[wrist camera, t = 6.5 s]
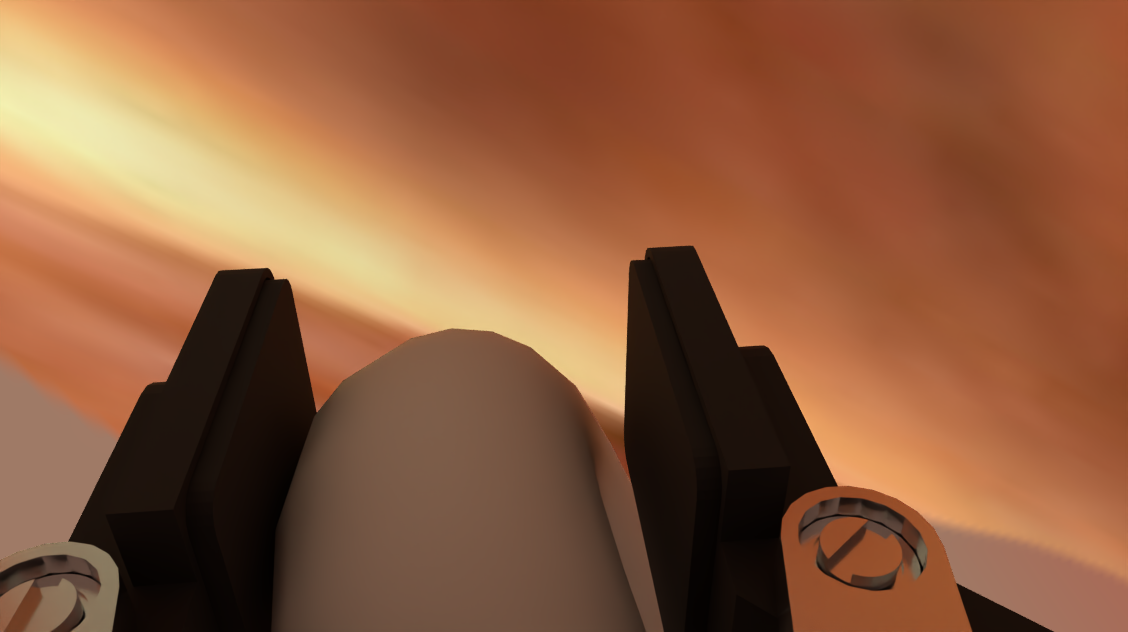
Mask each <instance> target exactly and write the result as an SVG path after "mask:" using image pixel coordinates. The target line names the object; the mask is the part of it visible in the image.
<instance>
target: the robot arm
mask: <svg viewBox="0 0 1128 632" xmlns="http://www.w3.org/2000/svg"><path fill="white" fill-rule="evenodd" d="M316 414H317V412H316V407H315V402H314V397H313V392H312V387H311V382H310V377H309V372H308V367H307V362H306V357H305V352H304V347H303V343H302V338H301V333H300V328H299V323H298V318H297V313H296V308H295V303H294V298H293V293H292V289H291V285H290V283H289V281H288V280H287V279H279V280H274V277H273V274H272V272H271V270H270V269H269V268H259V269H241V270H222V271H218V273H217V274H216V276H215V278H214V280H213V282H212V284H211V287H210V289H209V291H208V293H207V295H206V297H205V299H204V302H203V304H202V306H201V308H200V310H199V312H198V315H197V317H196V319H195V321H194V323H193V325H192V328H191V330H190V332H189V334H188V336H187V338H186V340H185V343H184V345H183V347H182V349H181V351H180V353H179V356H178V358H177V360H176V362H175V364H174V366H173V369H172V371H171V373H170V375H169V377H168V379H167V381H166V382H155V383H152V384H149V385H147V386H146V388H145V389H144V391H143V392H142V393H141V395H140V397H139V399H138V401H137V403H136V405H135V407H134V409H133V411H132V413H131V415H130V417H129V420H128V422H127V424H126V426H125V428H124V430H123V432H122V434H121V436H120V438H119V440H118V442H117V444H116V446H115V448H114V450H113V452H112V454H111V456H110V458H109V460H108V462H107V464H106V466H105V468H104V470H103V472H102V474H101V476H100V478H99V481H98V482H97V484H96V486H95V488H94V491H93V493H92V495H91V497H90V499H89V501H88V503H87V505H86V507H85V509H84V511H83V513H82V515H81V517H80V519H79V521H78V523H77V525H76V527H75V529H74V531H73V533H72V535H71V537H70V539H69V541H68V542H61V543H50V544H43V545H40V546H36V547H33V548H29V549H26V550H23V551H19V552H16V553H14V554H12V555H10V556H8V557H6V558H4V559H2V560H0V632H271V623H272V600H273V576H274V552H275V529H276V526H277V523H278V520H279V517H280V514H281V511H282V508H283V506H284V503H285V500H286V497H287V494H288V491H289V488H290V485H291V482H292V479H293V476H294V473H295V470H296V467H297V464H298V461H299V458H300V455H301V452H302V450H303V447H304V444H305V441H306V438H307V436H308V433H309V430H310V427H311V424H312V422H313V419H314V416H315V415H316ZM624 443H625V453H626V460H627V465H628V469H629V474H630V479H631V483H632V488H633V492H634V497H635V502H636V506H637V511H638V515H639V520H640V525H641V529H642V534H643V538H644V543H645V547H646V552H647V557H648V561H649V566H650V570H651V575H652V580H653V584H654V589H655V593H656V598H657V603H658V607H659V612H660V616H661V621H662V626H663V630H664V632H1053V631H1051V630H1049V629H1047V628H1045V627H1043V626H1041V625H1039V624H1037V623H1035V622H1033V621H1031V620H1029V619H1027V618H1025V617H1023V616H1021V615H1019V614H1017V613H1015V612H1013V611H1011V610H1009V609H1007V608H1005V607H1003V606H1001V605H999V604H997V603H995V602H993V601H991V600H989V599H987V598H985V597H983V596H981V595H979V594H977V593H975V592H973V591H971V590H969V589H967V588H965V587H963V586H961V585H959V584H957V583H956V581H955V579H954V575H953V572H952V569H951V567H950V563H949V560H948V557H947V555H946V551H945V548H944V546H943V544H942V542H941V540H940V539H939V537H938V535H937V533H936V531H935V529H934V528H933V527H932V526H931V525H930V524H929V523H928V522H927V521H926V520H925V519H924V518H923V517H922V516H921V515H920V514H919V513H918V512H917V511H915V510H914V509H912V508H911V507H909V506H907V505H906V504H904V503H903V502H901V501H899V500H898V499H896V498H893V497H891V496H888V495H885V494H883V493H880V492H877V491H874V490H870V489H864V488H858V487H852V486H839V487H838V485H837V483H836V481H835V479H834V477H833V475H832V473H831V471H830V469H829V467H828V465H827V463H826V461H825V459H824V457H823V455H822V453H821V451H820V449H819V447H818V445H817V443H816V441H815V439H814V437H813V435H812V433H811V430H810V428H809V426H808V424H807V422H806V420H805V418H804V416H803V414H802V412H801V410H800V408H799V406H798V404H797V402H796V400H795V398H794V396H793V394H792V392H791V390H790V388H789V386H788V384H787V382H786V380H785V378H784V375H783V373H782V371H781V369H780V367H779V365H778V363H777V361H776V359H775V357H774V355H773V354H772V352H771V351H770V349H769V348H768V347H766V346H747V347H738V345H737V343H736V341H735V338H734V336H733V334H732V331H731V329H730V327H729V325H728V322H727V320H726V318H725V316H724V313H723V311H722V309H721V306H720V304H719V302H718V300H717V297H716V295H715V293H714V291H713V288H712V286H711V284H710V281H709V279H708V277H707V275H706V272H705V270H704V268H703V266H702V263H701V261H700V259H699V256H698V254H697V252H696V250H695V248H694V247H693V246H676V247H657V248H647V250H646V255H645V260H632V261H631V262H630V267H629V291H628V323H627V354H626V386H625V418H624Z"/></svg>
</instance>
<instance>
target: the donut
mask: <svg viewBox="0 0 1128 632" xmlns="http://www.w3.org/2000/svg"><path fill="white" fill-rule="evenodd" d="M271 632H664V630H663V626H662V621H661V616H660V612H659V607H658V603H657V598H656V593H655V589H654V584H653V580H652V575H651V570H650V566H649V561H648V557H647V552H646V547H645V543H644V538H643V534H642V529H641V525H640V520H639V515H638V511H637V506H636V502H635V497H634V492H633V488H632V485H631V483H630V481H629V479H628V477H627V475H626V473H625V471H624V469H623V467H622V465H621V463H620V461H619V459H618V457H617V455H616V453H615V451H614V449H613V447H612V445H611V443H610V442H609V440H608V438H607V437H606V435H605V433H604V431H603V430H602V428H601V426H600V425H599V423H598V421H597V419H596V418H595V416H594V415H593V413H592V411H591V410H590V408H589V406H588V405H587V403H586V402H585V400H584V398H583V397H582V395H581V393H580V392H579V390H578V389H577V387H576V386H575V385H574V384H573V383H572V382H571V381H569V380H568V379H567V378H566V377H565V376H564V375H562V374H561V373H560V372H559V371H558V370H557V369H555V368H554V367H553V366H552V365H551V364H550V363H548V362H547V361H546V360H545V359H544V358H543V357H541V356H540V355H539V354H538V353H537V352H535V351H534V350H533V349H532V348H531V347H528V346H526V345H524V344H521V343H519V342H516V341H514V340H511V339H509V338H507V337H504V336H502V335H499V334H497V333H495V332H491V331H478V330H464V329H447V330H443V331H439V332H435V333H431V334H427V335H423V336H419V337H415V338H411V339H410V340H408V341H406V342H405V343H403V344H401V345H400V346H398V347H396V348H395V349H393V350H392V351H390V352H388V353H387V354H385V355H383V356H382V357H380V358H379V359H377V360H375V361H374V362H372V363H371V364H369V365H367V366H366V367H364V368H363V369H361V370H359V371H358V372H356V373H355V374H353V375H352V376H350V377H348V378H347V379H345V380H344V381H343V382H342V383H341V384H340V385H339V386H338V388H337V389H336V390H335V391H334V393H333V394H332V395H331V396H330V398H329V399H328V400H327V401H326V402H325V404H324V405H323V406H322V407H321V409H320V410H319V411H318V412H317V414H316V415H315V416H314V419H313V422H312V424H311V427H310V430H309V433H308V436H307V438H306V441H305V444H304V447H303V450H302V452H301V455H300V458H299V461H298V464H297V467H296V470H295V473H294V476H293V479H292V482H291V485H290V488H289V491H288V494H287V497H286V500H285V503H284V506H283V508H282V511H281V514H280V517H279V520H278V523H277V526H276V529H275V552H274V576H273V600H272V623H271Z"/></svg>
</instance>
